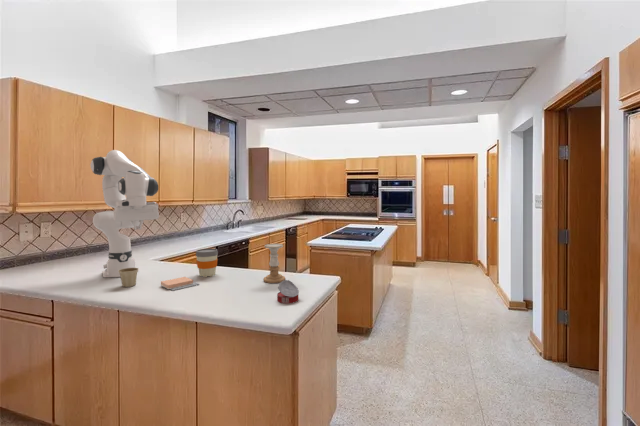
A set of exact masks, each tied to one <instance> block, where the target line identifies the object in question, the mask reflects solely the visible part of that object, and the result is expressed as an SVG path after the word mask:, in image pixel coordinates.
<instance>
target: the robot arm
mask: <svg viewBox="0 0 640 426" xmlns="http://www.w3.org/2000/svg"><path fill="white" fill-rule="evenodd" d="M90 169H91V171H92V174H94V175H97V176H103V177H102V182H101V185H102V193H103V200H104V203H105V205H107V206H108V207H110V208H113V209H114V210H106V211H105V210H104V211H100V212H96V213H95V214H94V215H93V217H92V224H93V226H94V227H95V228H96V229H97V230H98V231H101V232H102V234H104V235H105V237H106V238H107V242H108V249H109V250H108V251H109V252H108V255H107V256H108V259H107V262H106V264H103V267H102V268H103V269H105V270H103V271H101V272H102V278H121V276H120V274H119V272H118V271H119V270H121V269H125V268H137V266H136V260H135V258H133V250H132V247H131V245H132V244H131V238H130V237H129V236H128V235H126V234H124V233H121V232H120V230H121V229H131V228H133V230H142V226H143V224H144V221H149V220H150V221H151V220H153V221H154V220H158V219H159V218H160V214H159V203H157V202H155V201H147V197H153V196H155V195H156V194H157V193H158V192H159V182H158V180H156V179H155V178H154V177H152V176H150V175H149V174H148V173H147V171H145V170H144V169H143V168H142V167H140V166H139V165H137V164H135V163H134V162H133V160H131V159H130V158H128V157H127V156H126V154H124V153H123V152H122V151H120V150H118V149H112V150H110V151H108V152H107V154H106V156H103V157H102V156H96V157H93V158H92V160H91V162H90ZM139 271H140V269H139V270H138V272H139Z"/></svg>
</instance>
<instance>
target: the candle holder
mask: <svg viewBox="0 0 640 426" xmlns="http://www.w3.org/2000/svg"><path fill="white" fill-rule="evenodd" d="M283 247H284V244H282V243H267V244H264V248H266V249H268V250H269V251H270V254H269V257H270V259H269V263H268V265H269V266H270V267H269V268H268V269H269V274H267V275H266V276H264V277H263V279H262V280H263V282H264V283H267V284H280V283H281V282H282V281H284V280H286V277H285V276H284V275H282V274H281V273H279V270H280V266H279V265H280V262H279V260H278V257H279V254H278V252H279V250H280V249H281V248H283Z"/></svg>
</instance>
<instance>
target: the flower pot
mask: <svg viewBox="0 0 640 426" xmlns="http://www.w3.org/2000/svg"><path fill="white" fill-rule="evenodd" d="M138 270H139V271H140V269H139V267H136V268H125V269H121V270H119V271H118V272H119V274H120V276H121V277H120V281H121V285H122V287H123V288H125V287H126V288H130V287H131V288H132V287H134V286H136V285H137V276H138V273H139V271H138Z"/></svg>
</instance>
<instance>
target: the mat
mask: <svg viewBox="0 0 640 426" xmlns="http://www.w3.org/2000/svg"><path fill="white" fill-rule="evenodd" d="M196 285H197V286H200V283H198V282H196V281H193V284H189V285H185V286H181V287H176V288H172V289H169V290H170V291H172V292H173V291H178V290H183V289H184V290H185V289H187V288H192V287H195V286H196ZM197 286H196V287H197Z"/></svg>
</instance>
